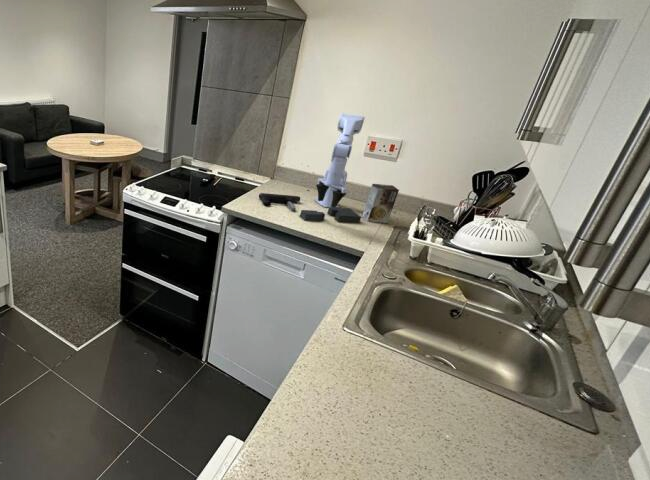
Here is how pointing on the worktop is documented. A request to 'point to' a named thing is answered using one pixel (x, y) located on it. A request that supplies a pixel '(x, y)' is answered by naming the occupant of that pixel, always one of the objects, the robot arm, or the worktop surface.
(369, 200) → the coffee box
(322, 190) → the robot arm
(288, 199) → the door handle
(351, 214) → the notch pad
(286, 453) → the worktop surface
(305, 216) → the pad
